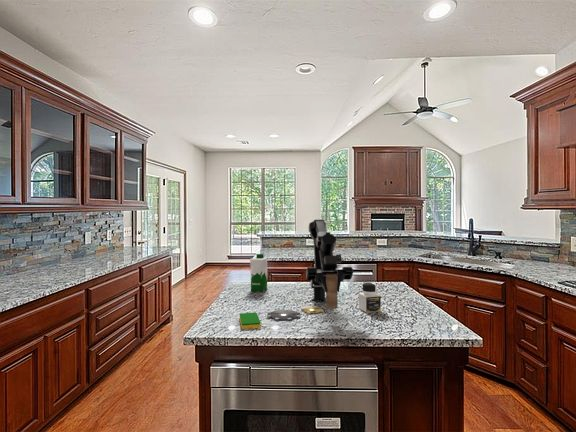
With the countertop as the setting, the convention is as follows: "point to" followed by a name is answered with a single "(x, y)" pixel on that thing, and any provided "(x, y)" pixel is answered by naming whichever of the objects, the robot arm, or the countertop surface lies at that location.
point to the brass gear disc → (312, 310)
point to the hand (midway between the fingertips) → (332, 291)
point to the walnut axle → (331, 291)
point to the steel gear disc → (283, 315)
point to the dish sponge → (249, 320)
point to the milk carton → (258, 273)
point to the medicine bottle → (369, 298)
